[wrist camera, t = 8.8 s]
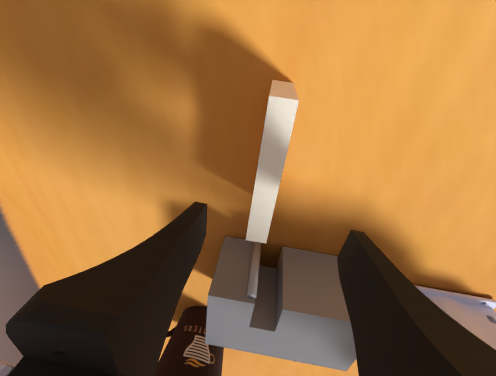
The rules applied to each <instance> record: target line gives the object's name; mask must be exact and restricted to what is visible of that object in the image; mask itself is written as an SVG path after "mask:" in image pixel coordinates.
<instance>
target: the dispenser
mask: <svg viewBox="0 0 496 376" xmlns="http://www.w3.org/2000/svg"><path fill="white" fill-rule="evenodd" d="M261 244H262V243H260V242H254V241H248V240H245V239H240V238H234V237H229V236H225V238H224V242H223V245H222V248H221V252H220V255H219V259H218V262H217V266H216V269H215V273H214V276H213V280H212V283H211V287H210V290H209V293H208V303H207V320H206V337H205V344H209V345H215V346H220V347H225V348H230V349H235V350H240V351H245V352H251V353H256V354H261V355H266V356H271V357H276V358H281V359H286V360H292V361H297V362H302V363H307V364H312V365H317V366H322V367H328V368H333V369H338V370H343V371H347V370H348V369H349V367H350V366H351V365H352V364H353V362H354V361H355V360H356V359H357V357H356V350H355V344H354V337H353V332H352V327H351V322H350V318H349V315H348V311H347V307H346V303H345V299H344V295H343V291H342V287H341V283H340V279H339V272H338V262H337V258H338V256H335V255H330V254H324V253H318V252H313V251H307V250H301V249H296V248H290V247H285V246H282V250H281V253H280V257H279V261H278V264H277V268H273V267H268V266H262V265H259V264H260V254H261Z"/></svg>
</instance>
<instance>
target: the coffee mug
mask: <svg viewBox="0 0 496 376" xmlns="http://www.w3.org/2000/svg"><path fill="white" fill-rule="evenodd" d="M206 320H207V307H202V306H194V307H189V308H187V309H186V310H184V312H183V314H182V316H181V318H180V320H179V322H178V324H177V326H176V327H175V328H173V329H172V330H171V331H168V333H167V336H166V337H170V336H171V338H170V340H169V342H168V344H167V346H166V348H165V350H164V352H163V354H162V356H161V358H160V360H159V362H158V364H157V367H156V370H155V374H154V376H221V374H222V362H223V350H224V347H220V346H215V345H209V344H205V337H206Z"/></svg>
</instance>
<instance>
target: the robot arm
mask: <svg viewBox="0 0 496 376" xmlns="http://www.w3.org/2000/svg"><path fill="white" fill-rule="evenodd" d="M206 221H207V204H204V203H199V202H195V203H193V204H192V205H191V206H190V207H189V208H187V209H186V210H185V211H184V212H183V213H182V214H180V215H179V216H178V217H177V218H176V219H174V220H173V221H172V222H170V223H169V224H168V225H167V226H165V227H164V228H163V229H161V230H160V231H158V232H157V233H156V234H154V235H153V236H151V237H150V238H148V239H147V240H145V241H144V242H142V243H140V244H139V245H137V246H135V247H134V248H132V249H130V250H128V251H126V252H124V253H122V254H120V255H118V256H116V257H114V258H113V259H111V260H108V261H106V262H104V263H102V264H100V265H97V266H95V267H93V268H90V269H88V270H85V271H83V272H80V273H78V274H75V275H72V276H70V277H67V278H64V279H61V280H58V281H56V282H53V283H50V284H47V285H44V286H43V287H42V288H41V289H40V290H39V291H38V292H37V293H36V294H35V295H34V296H32V298H31V299H30V300H29V301H28V302H27V303H26V304H25V305H24V306H23V307H22V308H21V309H20V310H19V311H18V312H17V313H16V314H15V315H14V316H13V317H12V318H11V319H10V320H9V321H8V323H7V324H6V333H7V335H8V337H9V338H10V340H11V341H12V342H13V344H14V345H15V346H16V347H17V349H18V350H19V351H20V352H21V353H22V355H23V356H24V357H23V358H22V359H21V360H20V362H19V363H18V364H17V365H16V367H14V366H12V365H10V364H8V363H5V362H2V361H0V376H154V374H155V370H156V367H157V364H158V361H159V358H160V354H161V351H162V348H163V345H164V342H165V339H166V336H167V333H168V330H169V327H170V324H171V321H172V318H173V315H174V312H175V309H176V306H177V303H178V301H179V298H180V296H181V293H182V291H183V289H184V286H185V284H186V282H187V280H188V278H189V275H190V273H191V271H192V269H193V267H194V265H195V262H196V260H197V258H198V256H199V254H200V251H201V248H202V245H203V242H204V239H205V235H206ZM337 262H338V272H339V279H340V283H341V287H342V291H343V295H344V299H345V303H346V307H347V311H348V315H349V318H350V322H351V327H352V332H353V337H354V344H355V350H356V357H357V365H358V373H359V376H496V312H495V311H494V308H496V301H495V300H493V299H488V298H482V297H477V296H471V295H466V294H460V293H454V292H449V291H443V290H438V289H432V288H427V287H421V286H416V285H413V284H412V283H411V282H410V281H409V280H408V279H407V278H406V277H405V276H404V275H403V274H402V273H401V272H400V271H399V270H398V269H397V268H396V267H395V266H394V264H393V263H392V262H391V261H390V260H389V259H388V258H387V257H386V256H385V255H384V254H383V253H382V252H381V250H380V249H379V248H378V247H377V246H376V245H375V244H374V243H373V242H372V241H371V240H370V238H369V237H368V236H367V235H366V234H365V233H364V232H360V231H354V230H351V231H350V233H349V235H348V237H347V239H346V241H345V243H344V245H343V247H342V249H341V251H340V253H339V256H338V258H337Z"/></svg>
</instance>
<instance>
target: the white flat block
mask: <svg viewBox="0 0 496 376" xmlns="http://www.w3.org/2000/svg"><path fill="white" fill-rule="evenodd" d="M298 102H299V99H298V96H297V92H296V89H295V86H294V83H291V82H285V81H278V80H272V85H271V89H270V94H269V100H268V106H267V112H266V118H265V124H264V130H263V137H262V143H261V149H260V155H259V161H258V167H257V173H256V179H255V186H254V192H253V198H252V204H251V210H250V216H249V222H248V228H247V235H246V240H248V241H254V242H260V243H265V244H266V242H267V238H268V233H269V229H270V224H271V220H272V216H273V211H274V207H275V203H276V198H277V194H278V190H279V185H280V181H281V176H282V172H283V168H284V163H285V159H286V155H287V150H288V146H289V141H290V137H291V133H292V128H293V124H294V120H295V115H296V111H297V107H298Z"/></svg>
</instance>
